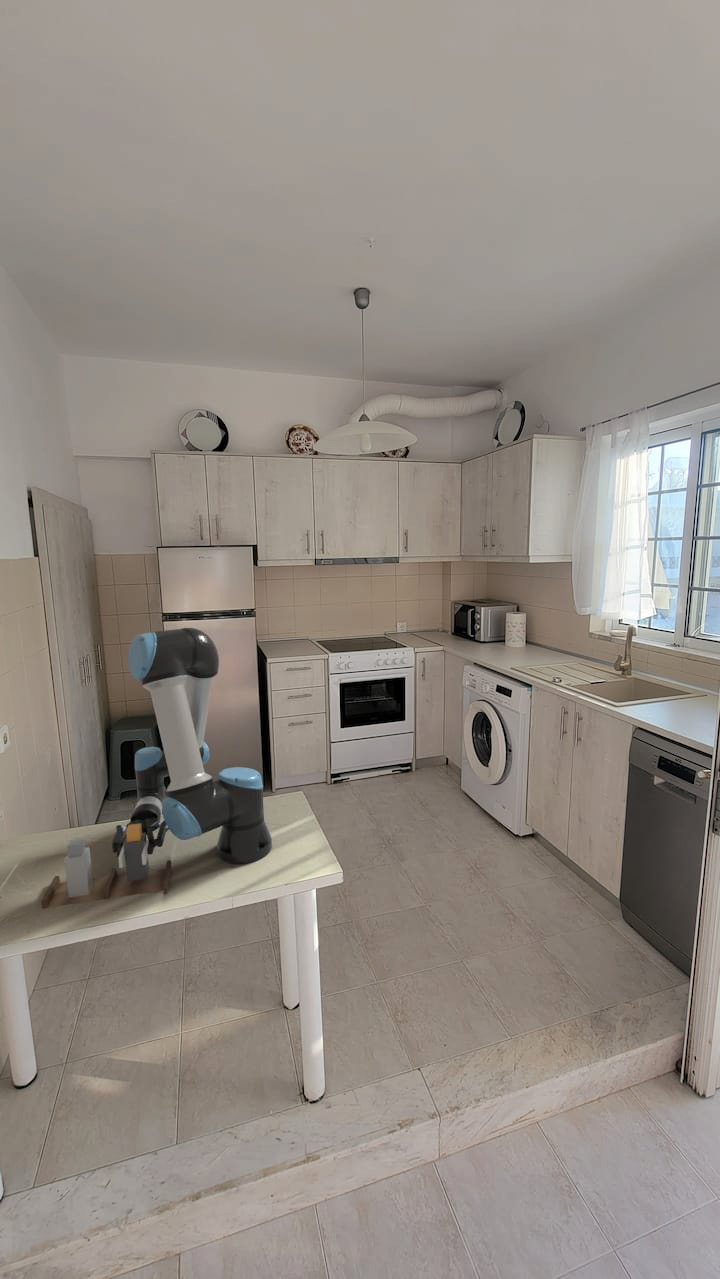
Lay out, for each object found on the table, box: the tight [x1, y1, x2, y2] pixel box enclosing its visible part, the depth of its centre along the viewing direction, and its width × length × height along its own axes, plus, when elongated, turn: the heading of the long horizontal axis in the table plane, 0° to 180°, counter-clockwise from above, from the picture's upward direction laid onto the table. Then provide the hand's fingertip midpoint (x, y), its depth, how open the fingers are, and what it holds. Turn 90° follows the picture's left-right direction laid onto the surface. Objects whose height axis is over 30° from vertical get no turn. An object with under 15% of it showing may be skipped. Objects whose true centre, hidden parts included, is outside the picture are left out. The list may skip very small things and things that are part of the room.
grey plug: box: [63, 837, 94, 898], centre depth 135 cm, size 4×4×13 cm
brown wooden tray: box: [41, 859, 173, 909], centre depth 137 cm, size 28×10×3 cm, turn 103°
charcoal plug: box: [124, 823, 150, 881], centre depth 138 cm, size 4×4×13 cm
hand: (132, 861), depth 132 cm, fingers closed on charcoal plug, 4 cm apart
